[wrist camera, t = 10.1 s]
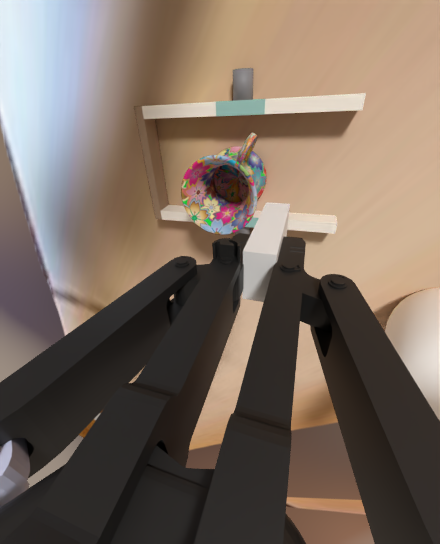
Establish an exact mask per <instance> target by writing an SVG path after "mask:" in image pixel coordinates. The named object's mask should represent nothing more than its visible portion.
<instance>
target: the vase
mask: <svg viewBox="0 0 440 544" xmlns="http://www.w3.org/2000/svg"><path fill="white" fill-rule="evenodd" d="M385 333H386V335H387V336H388V338H389V340H390V341H391V343H392V345H393V346H394V348H395V349H396V351H397V353H398V354H399V356H400V358H401V359H402V361H403V362H404V364H405V366H406V367H407V369H408V371H409V372H410V374H411V375H412V377H413V379H414V380H415V382H416V384H417V385H418V387H419V388H420V390H421V392H422V393H423V395H424V397H425V398H426V400H427V401H428V403H429V405H430V406H431V408H432V410H433V411H434V413H435V414H436V416H437V418H438V419H439V420H440V288H430V289H426V290H422V291H419V292H416V293H413V294H411V295H410V296H408V297H406V298H405V299H403V300H402V301H401V302H400V303H399V304H398V305H397V306H396V307H395V308H394V310H393V311H392V313H391V315H390V317H389V319H388V321H387V325H386V329H385Z"/></svg>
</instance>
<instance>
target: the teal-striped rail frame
mask: <svg viewBox="0 0 440 544" xmlns="http://www.w3.org/2000/svg"><path fill="white" fill-rule="evenodd" d="M365 95H366V93H362V94H344V95H326V96H309V97H291V98H274V99H254V100H253V68H242V69H234V70H233V101H219V102H204V103H186V104H168V105H151V106H134V110H135V115H136V120H137V125H138V130H139V135H140V141H141V146H142V151H143V156H144V161H145V166H146V172H147V177H148V182H149V187H150V192H151V197H152V202H153V208H154V213H155V218H156V219H162V220H175V221H187V222H193V220H192V219H191V218H190V217H189V215H188V214H187V212H186V210H185V208H184V206H179V205H169V203H168V197H167V190H166V184H165V178H164V171H163V165H162V159H161V153H160V146H159V140H158V134H157V127H156V121H155V119H158V118H183V117H207V116H236V115H261V114H281V113H306V112H331V111H355V110H362V109H363V104H364V100H365ZM261 212H262V211H258V210H255V213H254V215H253V217H252V219H251V220H250V222H249V223H248V224H247V225H246V226H245V227H244V228H242V229H241V230H239V231H237V232H235V235H237V234H238V233H244V234H250V227H253V228H254V227H255V225H256V223H257V221H258V219H259V217H260V215H261ZM336 227H337V218H336V215H320V214H305V213H289V219H288V228H287V230H297V231H309V232H321V233H333V234H335V232H336Z"/></svg>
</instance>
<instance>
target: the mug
mask: <svg viewBox="0 0 440 544" xmlns="http://www.w3.org/2000/svg"><path fill="white" fill-rule="evenodd" d="M256 140H257V135H256V134H255V133H251V134H250V135H249V136H248V138H247V139H246V141H245V142H244V144H243V146H242V147H239V146H236V147H230V148H227V149H225V150H223V151H222V152H220V153H219V154H218V155H211V156H206V157H203V158H201V159H199V160H197V161H196V162H194V163H193V164H192V165H191V166H190V167H189V169H188V170H187V172H186V173H185V176H184V178H183V181H182V187H181V196H182V202H183V205H184V208H185V210H186V212H187V214H188V215H189V217H190V218H191V219H192V220H193V222H194V223H195V224H197V225H198V226H199V227H200V228H202V229H204V230H206V231H208V232H210V233H214V234H220V235H226V234H231V233H235V232H237V231H239V230H241V229H242V228H244V227H245V226H246V225H247V224H248V223H249V222H250V220H251V219H252V217H253V215H254V213H255V210H256V206H257V199H258V198H259V197H260V196H261V194H262V192H263V190H264V188H265V184H266V170H265V167H264V164H263V162H262V161H261V159H260V158H259V157H258V155H257V154H255V153H254V152H253V151H252V150H253V148H254V145H255V143H256Z"/></svg>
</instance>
